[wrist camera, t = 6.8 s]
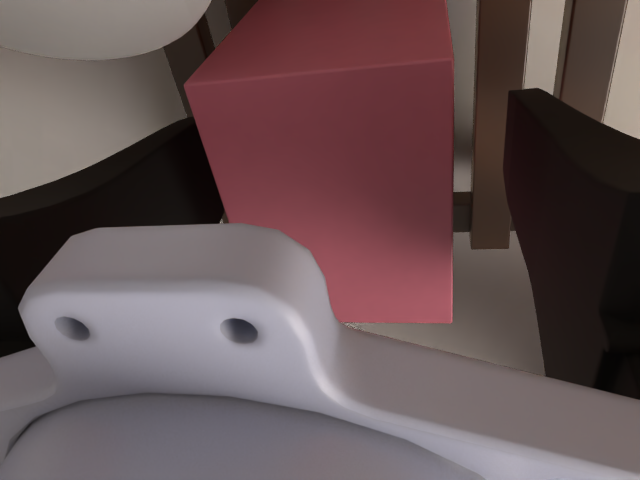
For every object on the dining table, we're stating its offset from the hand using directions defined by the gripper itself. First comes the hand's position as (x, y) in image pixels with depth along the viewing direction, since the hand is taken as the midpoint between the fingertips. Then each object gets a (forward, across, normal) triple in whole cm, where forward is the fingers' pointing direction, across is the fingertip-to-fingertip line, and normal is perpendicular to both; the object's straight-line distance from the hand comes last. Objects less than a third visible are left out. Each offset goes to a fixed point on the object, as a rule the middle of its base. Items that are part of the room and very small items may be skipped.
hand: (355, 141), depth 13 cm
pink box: (+2, 0, 0) cm, 2 cm away
